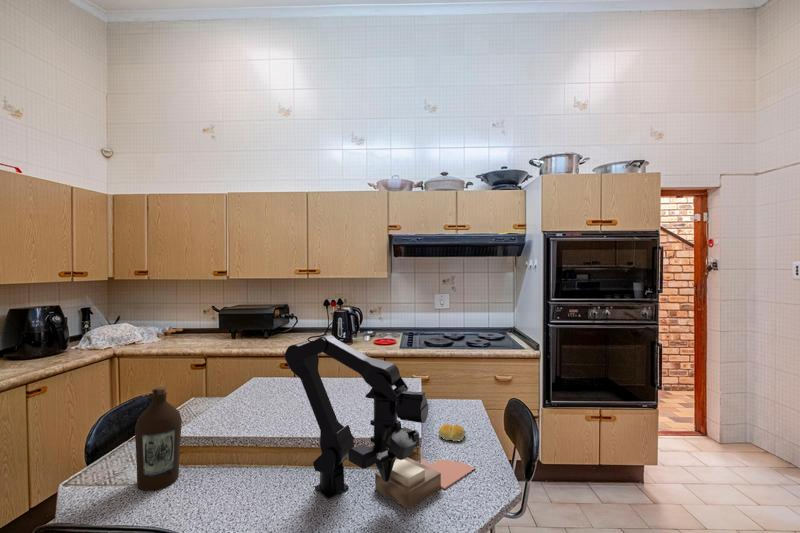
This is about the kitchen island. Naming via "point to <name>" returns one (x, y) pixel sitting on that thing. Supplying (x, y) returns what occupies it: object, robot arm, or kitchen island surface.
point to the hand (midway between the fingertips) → (385, 481)
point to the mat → (449, 471)
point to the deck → (412, 493)
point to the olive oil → (158, 443)
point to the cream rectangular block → (407, 472)
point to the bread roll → (452, 432)
